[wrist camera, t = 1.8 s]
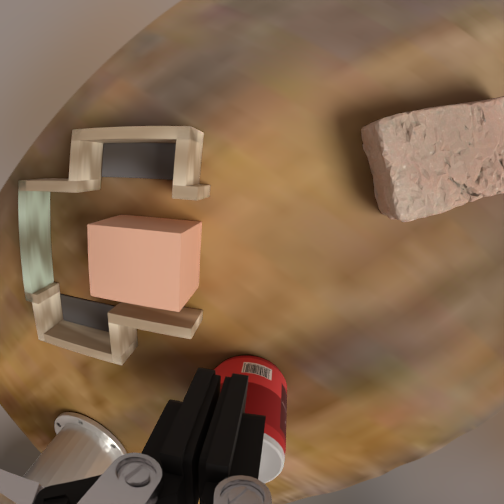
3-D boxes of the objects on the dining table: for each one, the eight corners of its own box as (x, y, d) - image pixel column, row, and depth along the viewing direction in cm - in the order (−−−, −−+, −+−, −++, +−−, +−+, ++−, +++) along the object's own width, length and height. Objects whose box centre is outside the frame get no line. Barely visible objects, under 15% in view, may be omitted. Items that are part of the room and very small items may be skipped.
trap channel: (201, 358, 31) (190, 381, 28) (52, 323, 33) (32, 337, 29) (215, 133, 26) (203, 126, 22) (45, 137, 28) (21, 135, 24)
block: (199, 286, 30) (179, 312, 24) (122, 274, 30) (90, 295, 25) (202, 221, 28) (181, 233, 22) (121, 214, 29) (87, 224, 23)
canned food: (197, 365, 32) (163, 438, 21) (269, 341, 30) (260, 419, 20) (230, 417, 33) (211, 492, 22) (298, 398, 31) (298, 478, 21)
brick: (380, 219, 27) (398, 229, 22) (354, 126, 25) (368, 117, 21) (515, 180, 24) (543, 183, 20) (495, 100, 23) (522, 93, 18)
